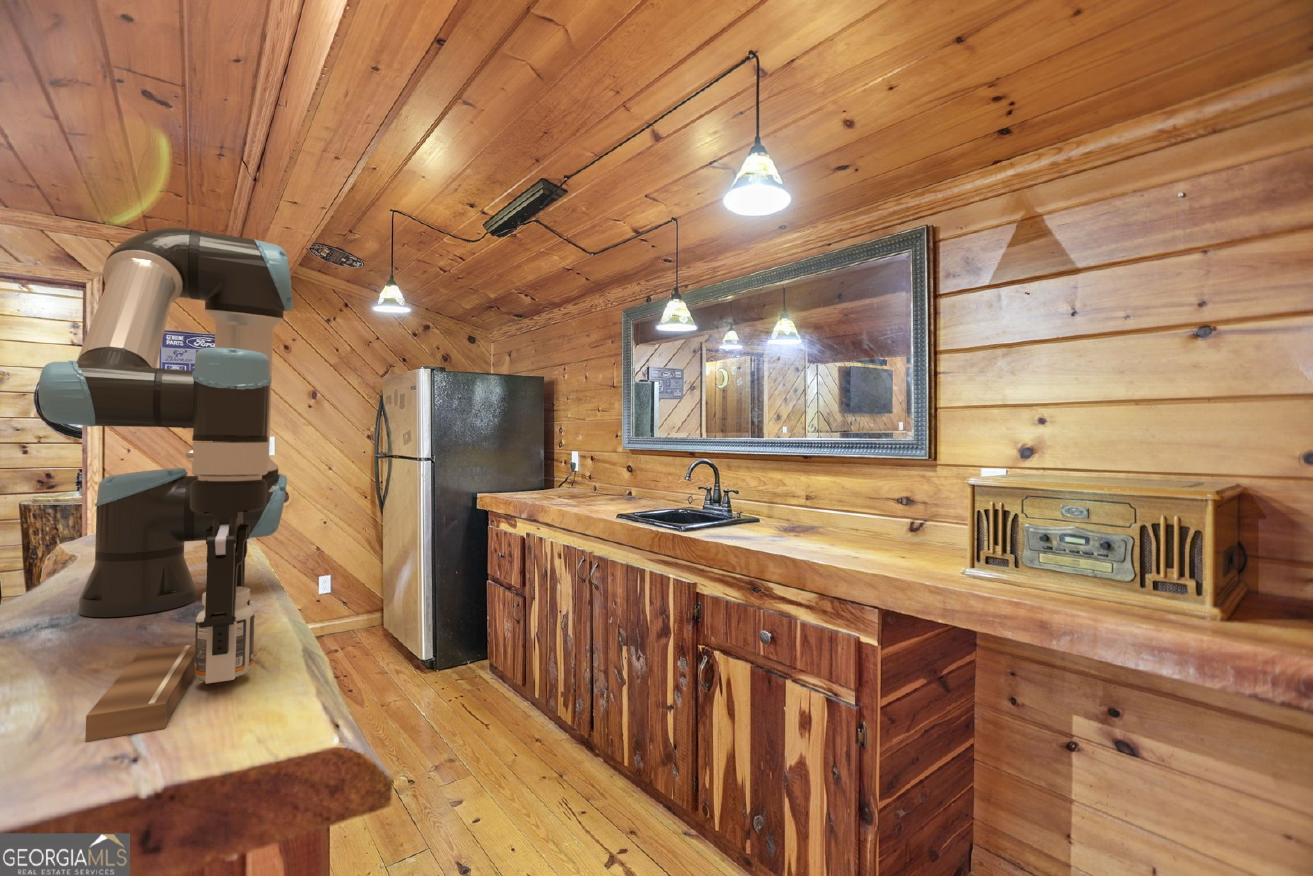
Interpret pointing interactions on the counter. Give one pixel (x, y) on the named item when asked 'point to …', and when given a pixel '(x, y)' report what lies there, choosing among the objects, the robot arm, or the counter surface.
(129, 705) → the plank
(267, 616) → the counter surface
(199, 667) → the pill bottle
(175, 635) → the counter surface
